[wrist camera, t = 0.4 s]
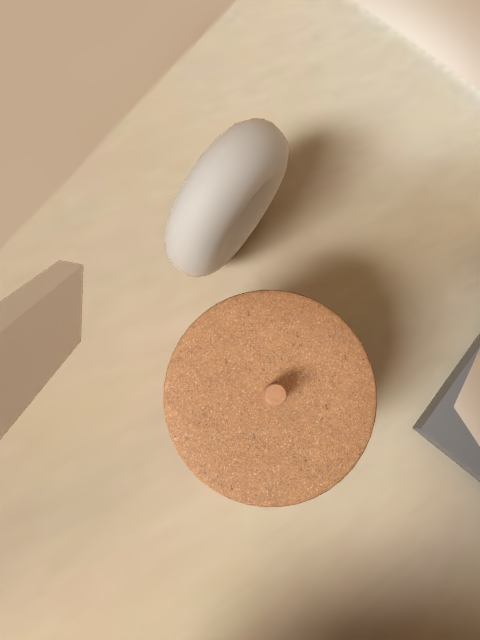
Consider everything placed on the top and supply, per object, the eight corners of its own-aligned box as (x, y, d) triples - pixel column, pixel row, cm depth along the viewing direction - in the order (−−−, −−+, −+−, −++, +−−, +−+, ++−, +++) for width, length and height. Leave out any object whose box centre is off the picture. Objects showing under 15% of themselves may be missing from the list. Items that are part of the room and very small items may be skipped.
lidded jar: (303, 504, 29) (343, 556, 20) (150, 438, 29) (119, 460, 20) (360, 350, 31) (421, 333, 22) (215, 290, 31) (214, 247, 22)
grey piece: (247, 164, 33) (260, 66, 23) (286, 191, 32) (317, 104, 22) (163, 273, 31) (137, 218, 21) (203, 302, 31) (197, 260, 21)
